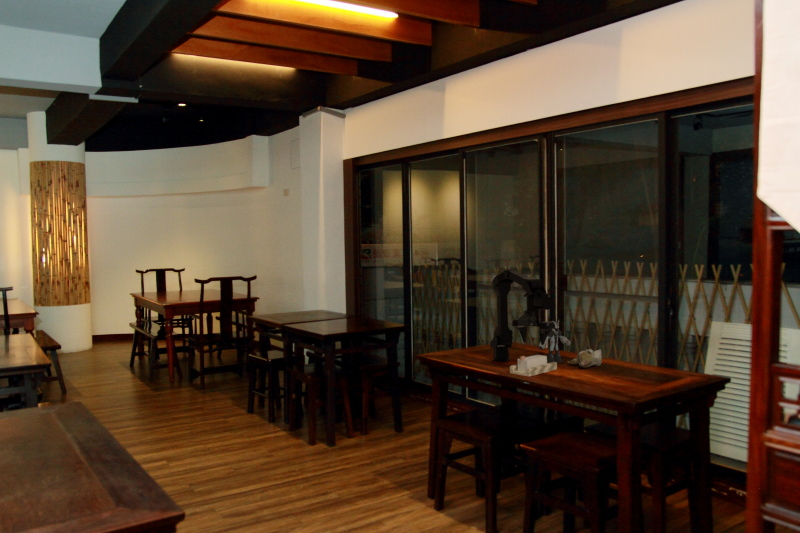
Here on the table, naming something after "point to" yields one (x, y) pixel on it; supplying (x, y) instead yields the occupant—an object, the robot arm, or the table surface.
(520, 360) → the white bar with tab
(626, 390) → the table surface
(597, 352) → the ceramic sculpture
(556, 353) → the robot
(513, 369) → the cradle
